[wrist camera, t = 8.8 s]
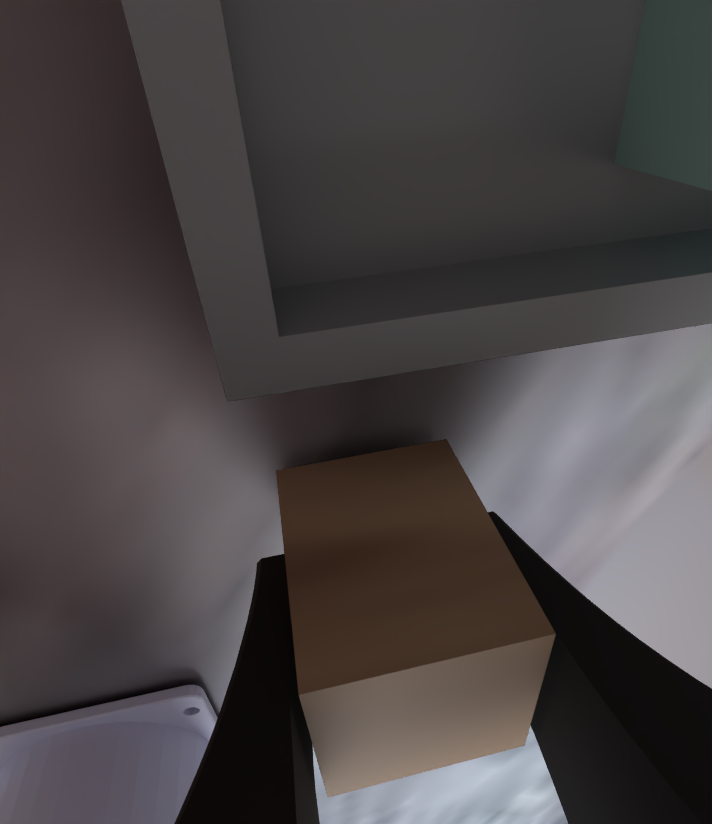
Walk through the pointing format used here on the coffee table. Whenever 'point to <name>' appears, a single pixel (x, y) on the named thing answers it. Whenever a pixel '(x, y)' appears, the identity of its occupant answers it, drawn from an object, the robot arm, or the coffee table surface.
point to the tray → (412, 183)
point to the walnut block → (405, 617)
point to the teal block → (671, 95)
